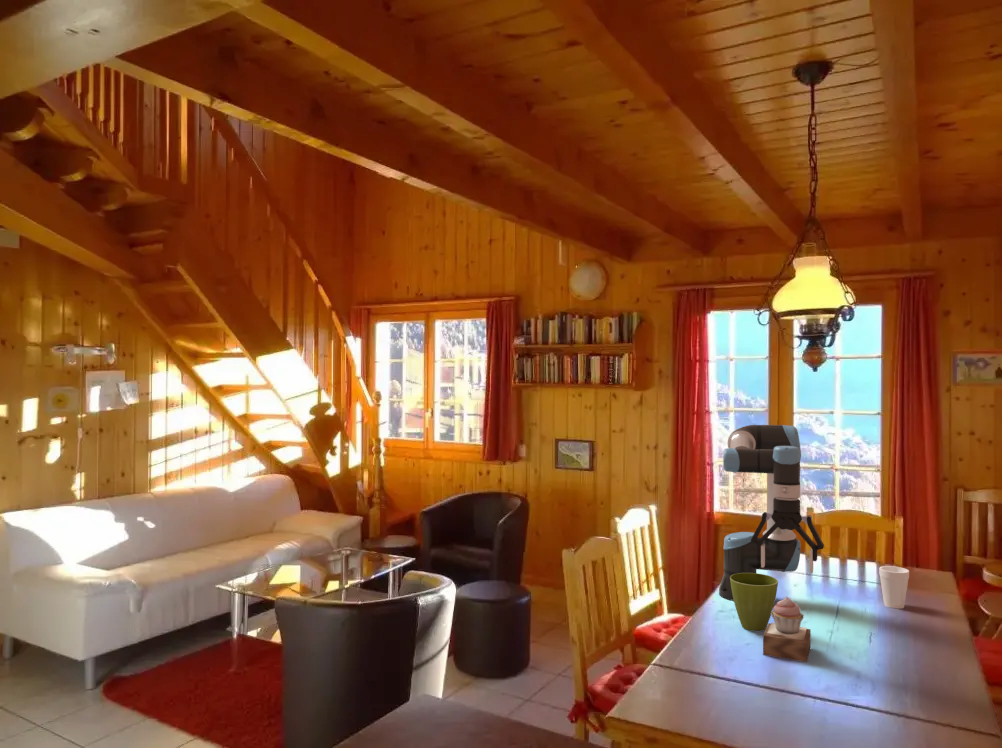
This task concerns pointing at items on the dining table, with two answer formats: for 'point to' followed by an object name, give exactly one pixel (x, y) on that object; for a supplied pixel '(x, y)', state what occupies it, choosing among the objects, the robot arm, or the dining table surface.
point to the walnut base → (787, 643)
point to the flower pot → (754, 599)
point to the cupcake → (787, 616)
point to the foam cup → (894, 585)
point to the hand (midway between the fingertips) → (786, 569)
